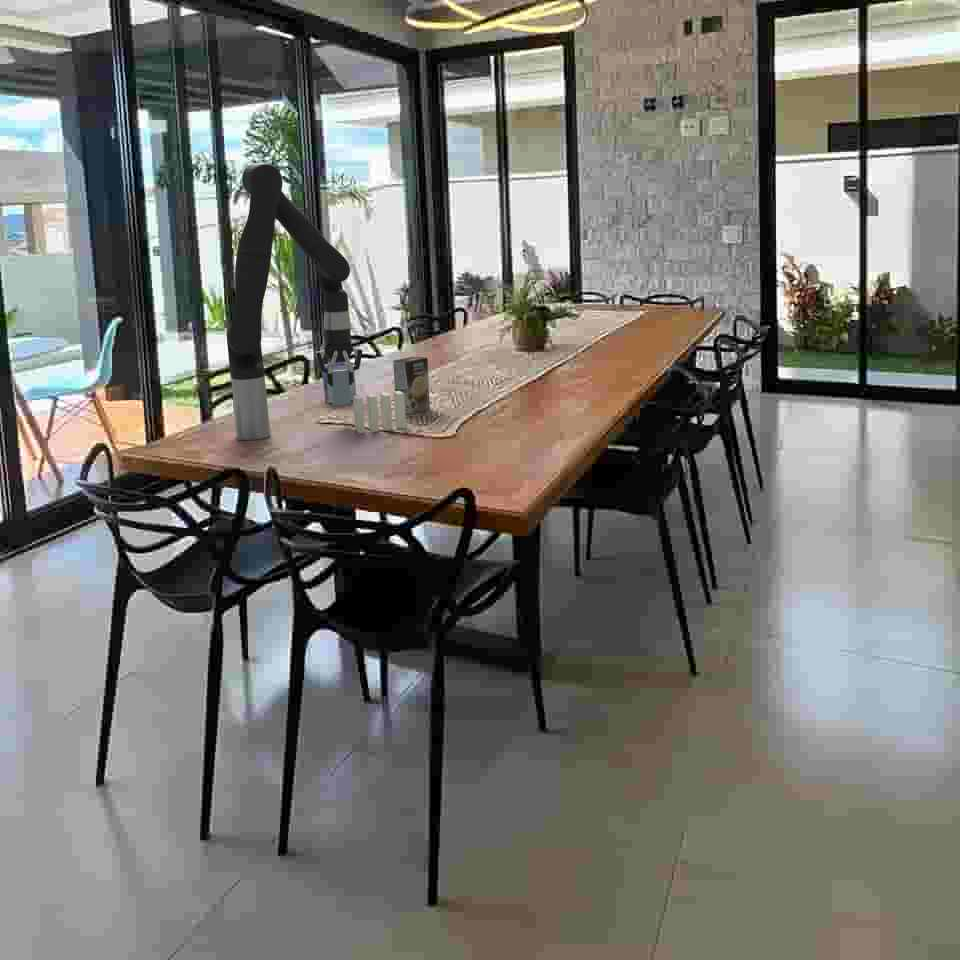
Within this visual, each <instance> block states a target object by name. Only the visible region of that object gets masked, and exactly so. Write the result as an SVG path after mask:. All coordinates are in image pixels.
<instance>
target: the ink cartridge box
mask: <svg viewBox="0 0 960 960" xmlns="http://www.w3.org/2000/svg"><path fill="white" fill-rule="evenodd" d="M350 362H351V365H352V366H353V365H354V362H352V361H350ZM327 365H328V363H327V364H324V366H325V368H327ZM345 369H347V366H346V364H345V362H337V363H335V364H334V367H333V370H345ZM321 373H322V384H323V393H324V394H323V395H324V401H325V403H328V404H333V402H332V386H330V385H329V384H328V383H327V374H326V373H325V372H322V371H321ZM355 374H356V373H355V371H354V372H353V378H354V382H353V383H352V385H350V400H351V401H353V396H354V395H357V387H356V376H355Z"/></svg>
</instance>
